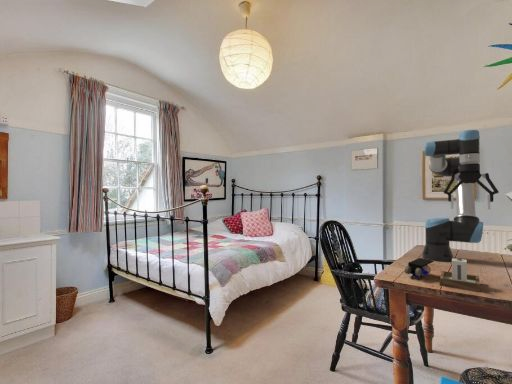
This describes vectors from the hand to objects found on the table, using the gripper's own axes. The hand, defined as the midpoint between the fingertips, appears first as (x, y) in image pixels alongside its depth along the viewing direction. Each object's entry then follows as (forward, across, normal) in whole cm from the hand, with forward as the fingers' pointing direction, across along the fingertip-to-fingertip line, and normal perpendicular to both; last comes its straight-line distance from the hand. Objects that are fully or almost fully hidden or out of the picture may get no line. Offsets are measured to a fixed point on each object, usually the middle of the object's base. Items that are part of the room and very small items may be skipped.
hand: (470, 208), depth 129 cm
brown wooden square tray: (+31, -4, -20) cm, 37 cm away
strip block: (+30, -4, -20) cm, 36 cm away
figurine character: (+31, -19, -17) cm, 40 cm away
